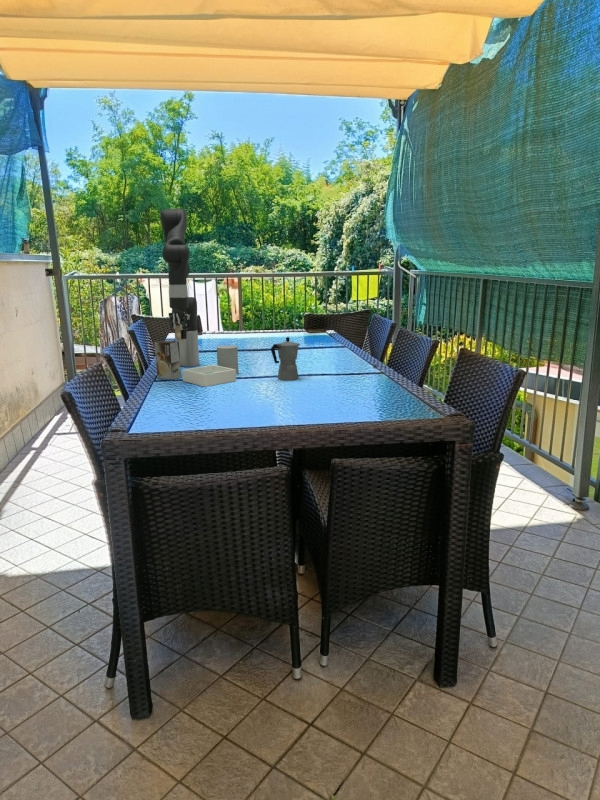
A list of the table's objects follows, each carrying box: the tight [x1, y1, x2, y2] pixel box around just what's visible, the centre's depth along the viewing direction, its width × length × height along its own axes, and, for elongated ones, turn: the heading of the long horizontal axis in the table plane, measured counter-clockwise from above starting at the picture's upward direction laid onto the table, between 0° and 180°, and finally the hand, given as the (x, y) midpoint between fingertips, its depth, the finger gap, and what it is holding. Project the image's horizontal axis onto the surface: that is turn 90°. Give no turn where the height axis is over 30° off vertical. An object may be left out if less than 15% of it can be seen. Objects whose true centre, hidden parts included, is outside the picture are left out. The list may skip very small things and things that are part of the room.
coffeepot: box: [270, 336, 301, 382], centre depth 236 cm, size 15×9×18 cm, turn 129°
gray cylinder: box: [216, 344, 239, 376], centre depth 250 cm, size 10×10×12 cm
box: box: [182, 364, 237, 388], centre depth 234 cm, size 16×16×5 cm
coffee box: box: [154, 339, 182, 380], centre depth 240 cm, size 9×6×16 cm
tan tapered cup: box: [174, 325, 186, 341], centre depth 226 cm, size 4×4×6 cm
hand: (180, 338), depth 226 cm, fingers closed on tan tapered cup, 4 cm apart
